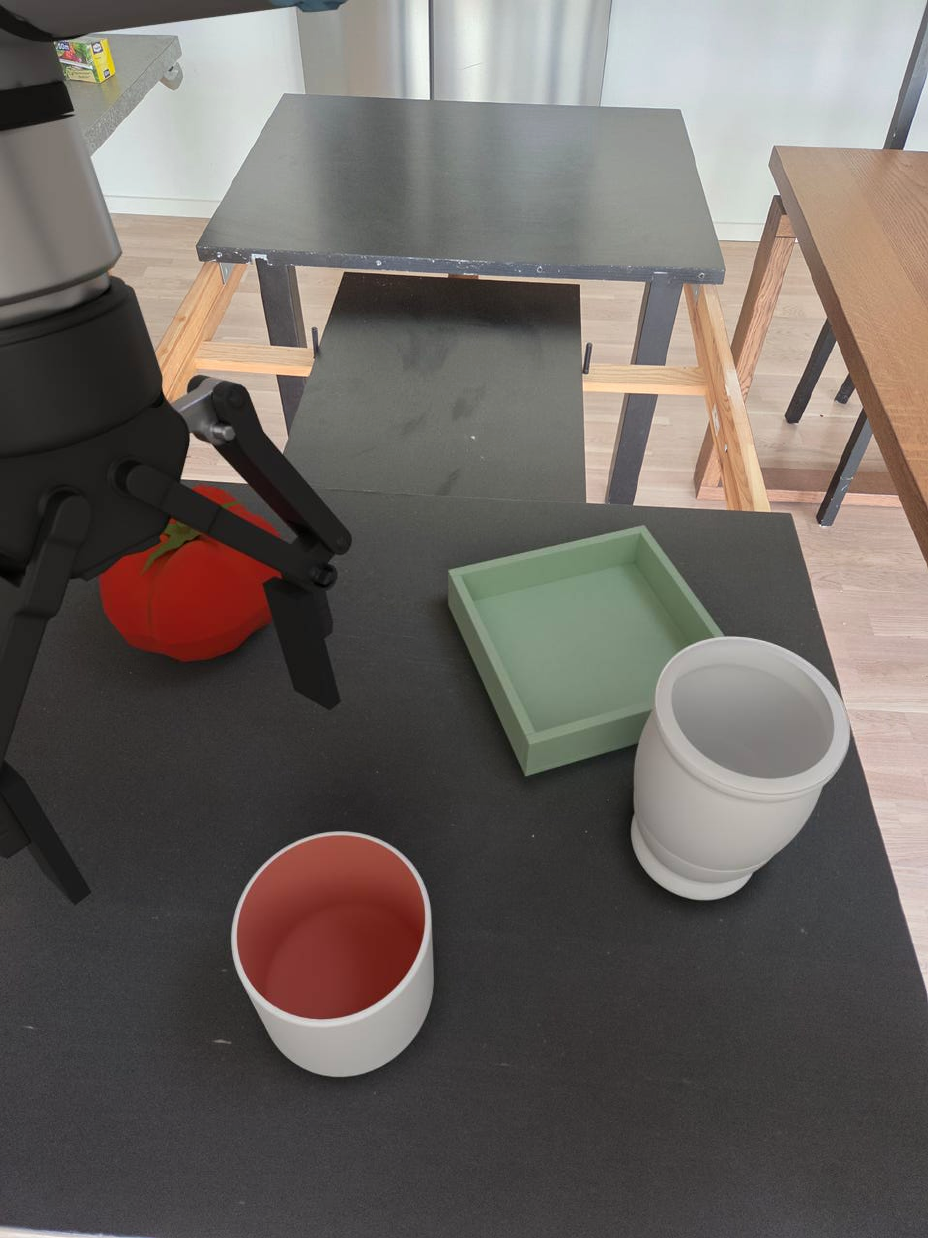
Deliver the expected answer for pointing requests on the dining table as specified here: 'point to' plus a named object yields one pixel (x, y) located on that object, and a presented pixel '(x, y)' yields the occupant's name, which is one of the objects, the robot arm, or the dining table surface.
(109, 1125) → the dining table surface
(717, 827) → the jar
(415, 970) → the cup
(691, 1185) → the dining table surface
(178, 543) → the tomato
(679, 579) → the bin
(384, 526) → the dining table surface
